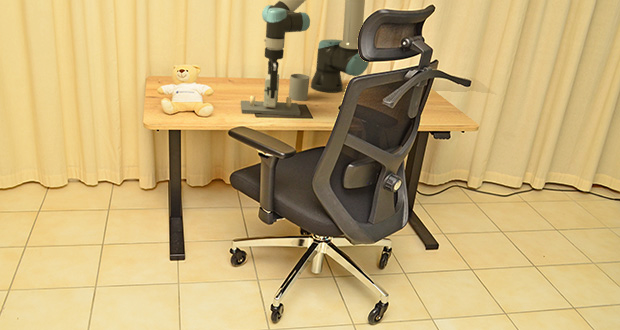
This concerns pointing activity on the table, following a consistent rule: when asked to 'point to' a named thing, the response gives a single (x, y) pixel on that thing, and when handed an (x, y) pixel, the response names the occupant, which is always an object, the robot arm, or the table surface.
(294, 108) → the board
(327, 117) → the table surface
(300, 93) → the cup
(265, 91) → the ink box
